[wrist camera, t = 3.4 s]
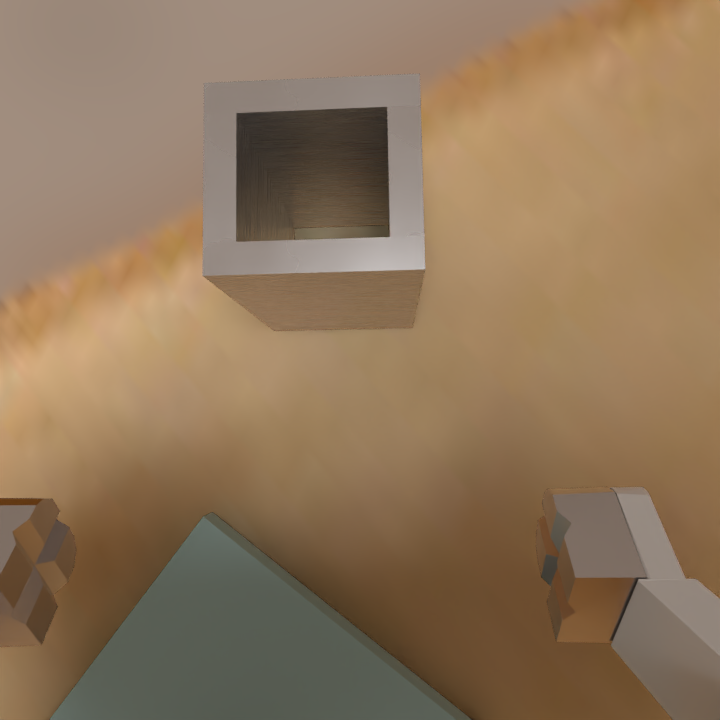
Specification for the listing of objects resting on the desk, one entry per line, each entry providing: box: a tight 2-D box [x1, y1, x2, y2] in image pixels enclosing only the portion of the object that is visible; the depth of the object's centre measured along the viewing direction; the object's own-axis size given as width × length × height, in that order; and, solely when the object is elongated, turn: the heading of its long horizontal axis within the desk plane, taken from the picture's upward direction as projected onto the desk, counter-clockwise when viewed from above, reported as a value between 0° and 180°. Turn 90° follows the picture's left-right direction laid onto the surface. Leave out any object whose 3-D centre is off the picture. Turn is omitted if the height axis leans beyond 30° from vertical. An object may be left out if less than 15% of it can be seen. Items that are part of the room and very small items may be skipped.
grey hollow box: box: [203, 74, 425, 331], centre depth 17 cm, size 4×5×8 cm
